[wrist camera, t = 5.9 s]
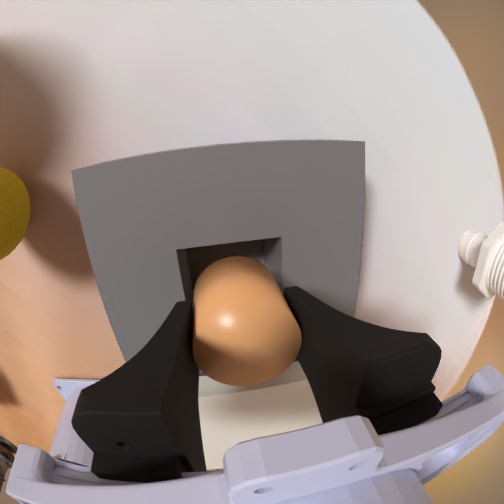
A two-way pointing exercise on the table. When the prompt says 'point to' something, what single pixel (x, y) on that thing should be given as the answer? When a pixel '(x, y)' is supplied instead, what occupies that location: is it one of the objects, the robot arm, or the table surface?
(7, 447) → the salt shaker
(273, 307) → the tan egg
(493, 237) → the pipe fitting
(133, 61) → the table surface
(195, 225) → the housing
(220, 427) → the cream square tile
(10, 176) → the lemon
